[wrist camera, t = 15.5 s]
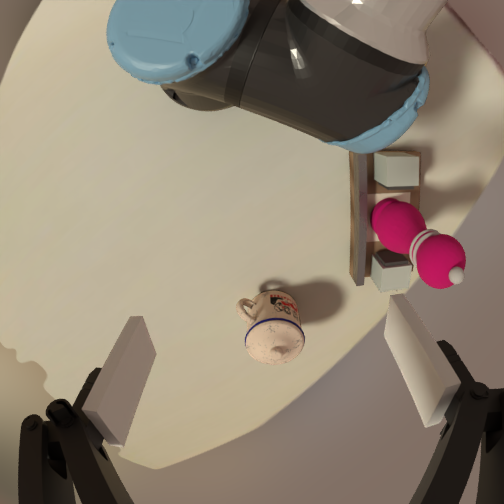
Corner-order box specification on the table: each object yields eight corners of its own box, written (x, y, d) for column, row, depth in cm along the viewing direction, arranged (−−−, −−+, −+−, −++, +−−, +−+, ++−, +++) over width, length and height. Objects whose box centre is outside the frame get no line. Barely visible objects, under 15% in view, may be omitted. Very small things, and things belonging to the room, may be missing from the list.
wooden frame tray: (349, 151, 41) (353, 152, 40) (414, 151, 41) (420, 152, 39) (349, 272, 50) (352, 278, 48) (408, 266, 49) (412, 271, 47)
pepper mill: (415, 210, 43) (495, 265, 24) (391, 247, 45) (456, 318, 27) (383, 185, 41) (462, 232, 23) (357, 225, 44) (419, 294, 26)
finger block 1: (373, 152, 39) (386, 156, 35) (403, 152, 39) (419, 156, 35) (373, 183, 41) (386, 191, 37) (403, 182, 41) (418, 190, 36)
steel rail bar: (353, 152, 40) (358, 154, 37) (360, 152, 40) (366, 154, 37) (352, 278, 48) (356, 286, 46) (359, 277, 48) (363, 285, 45)
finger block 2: (372, 250, 46) (383, 265, 41) (399, 248, 45) (412, 261, 41) (370, 276, 48) (380, 292, 43) (397, 273, 47) (408, 288, 43)
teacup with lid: (309, 307, 52) (320, 352, 42) (274, 338, 55) (277, 384, 45) (257, 268, 50) (256, 309, 39) (222, 303, 52) (215, 348, 42)
